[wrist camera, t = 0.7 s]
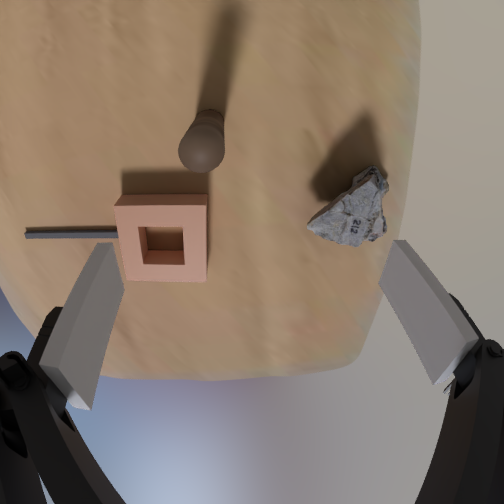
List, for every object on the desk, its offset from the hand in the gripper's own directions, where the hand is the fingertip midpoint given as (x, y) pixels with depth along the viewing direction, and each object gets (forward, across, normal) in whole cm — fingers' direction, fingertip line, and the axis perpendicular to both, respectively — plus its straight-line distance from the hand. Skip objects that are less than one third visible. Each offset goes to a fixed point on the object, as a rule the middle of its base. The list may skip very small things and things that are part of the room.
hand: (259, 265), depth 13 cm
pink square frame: (+20, -8, -10) cm, 24 cm away
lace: (+20, -21, -10) cm, 31 cm away
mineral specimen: (+20, +13, -6) cm, 25 cm away
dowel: (+20, -3, +3) cm, 21 cm away
